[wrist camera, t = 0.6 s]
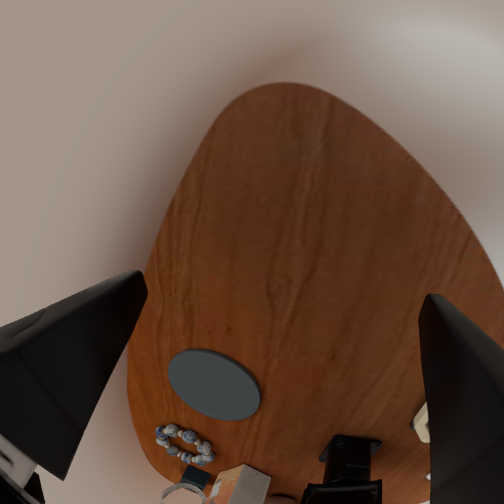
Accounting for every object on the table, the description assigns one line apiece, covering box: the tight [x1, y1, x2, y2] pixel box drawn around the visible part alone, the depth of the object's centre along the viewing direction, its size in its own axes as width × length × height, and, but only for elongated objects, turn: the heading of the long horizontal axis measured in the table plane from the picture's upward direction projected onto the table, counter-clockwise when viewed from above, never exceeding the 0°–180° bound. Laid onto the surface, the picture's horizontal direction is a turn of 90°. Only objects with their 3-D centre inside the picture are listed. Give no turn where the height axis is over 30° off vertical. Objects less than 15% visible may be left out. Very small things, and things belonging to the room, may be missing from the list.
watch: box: [160, 465, 211, 504], centre depth 36 cm, size 6×8×11 cm
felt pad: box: [168, 349, 261, 421], centre depth 31 cm, size 11×11×1 cm
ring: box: [414, 403, 430, 443], centre depth 22 cm, size 10×10×1 cm
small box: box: [205, 464, 271, 504], centre depth 32 cm, size 8×6×10 cm
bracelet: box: [156, 424, 215, 466], centre depth 36 cm, size 10×10×2 cm
